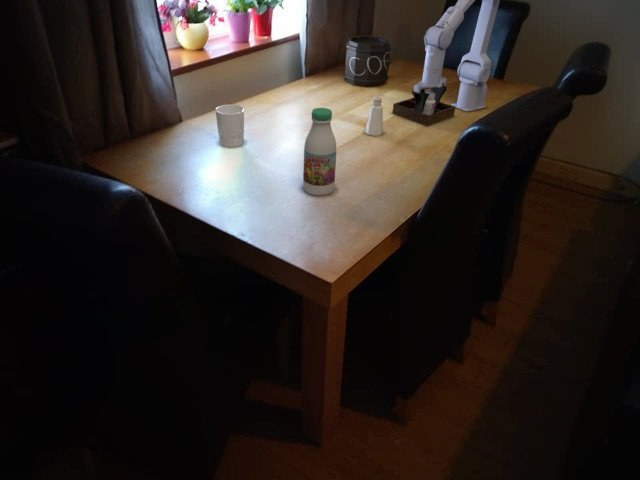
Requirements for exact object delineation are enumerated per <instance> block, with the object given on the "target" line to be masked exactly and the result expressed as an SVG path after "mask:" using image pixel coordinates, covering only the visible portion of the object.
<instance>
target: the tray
mask: <svg viewBox="0 0 640 480" xmlns="http://www.w3.org/2000/svg"><path fill="white" fill-rule="evenodd" d="M455 112H456V107H455V106H452V105H451V104H448V103H445V102H441V101H440V102H439V104H438V106H437V108H436V109H435V108H434V113H433V114H431V115H426V114H423V113H418V112H416V104H415V99H414V97H411V98H408V99H405V100H401V101H398V102H394V103H393V104H392V114H393V115H396V116H399V117H401V118H404V119H407V120H409V121H412V122H414V123H417V124H420V125H423V126H425V127H429V126H432V125H434V124H437V123H439V122H442V121H446V120H449V119H451V118H454V116H455Z"/></svg>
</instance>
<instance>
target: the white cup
mask: <svg viewBox="0 0 640 480" xmlns="http://www.w3.org/2000/svg"><path fill="white" fill-rule="evenodd" d="M215 117H216V125H217V132H218V137H219V143H220V145H221V146H223V147H226V148H235V147H240V146H242V145H243V144H244V142H245V141H244V135H245V108H244V107H243V106H241V105H238V104H222V105H219V106H217V107H216V108H215Z"/></svg>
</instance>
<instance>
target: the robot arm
mask: <svg viewBox="0 0 640 480" xmlns="http://www.w3.org/2000/svg"><path fill="white" fill-rule="evenodd" d="M475 1H476V0H457V2H456V3H455V4H454V6H449V7H448V8H447V10H446V11H445V12H444V13H443V14H442V16H441V17H440V19H439V20H438V21H437V22H436V23H435V25H433V26H430V27H429V28H428V29H427V30H426V32H425V35H423V42H424V46H425V47H424V51H425V58H424V65H423V72H422V79H421V80H420V81H419V82H418V83H417V84H414V85H413V89H412V91H411V94H412V96H413V98H414V99H415V104H416V112H418V113H423V110H424V106H425V103H426V100H427V98H428V96H429V95H430V94H428V93H425V92H426V91H427V90H429V89H430V92H433V93H435V94H436V95H435V109H436V108H437V106H438V104H439V102H441V99H442V97H443V96H444V94H445V93H446V92H447V91H448V87H447V86H446V85H447V80H448V79H447V78H445V77H442V75H443V67H444V62H445V56H446V50H447V48H448V47H450V45H451V43H452V41H453V37H454V35H455V32H456V30H457V29H458V27H459V26H460V25H461V24H462V22H463V21H464V19H465V14H464V13H465V12H466V11H467V10H468V9H469V8H470V6H471V5H473V3H474V2H475ZM500 1H501V0H481V6H480V10H479V15H478V17H477V22H476V25H475V26H476V27H475V31H474V34H473V39H472V42H471V47H470V50H469V52H467V53H466V54H464V55H462V58H461V62H460V63H459V65H458V66H457V76H458V78H459V81H460V84H459V90H458V95H457V101H456V102H452V103H451V104H450V105H451V106H454V107H455V108H457V109H460V110H462V111H464V112H472V111H475V110H476V111H477V110H481V109H485V108H486V106H485V101H486V97H487V93H488V86H487V83H486V82H487V81H488V80H489V78H490V76H491V66H492V59H490V57H489V56H488V55H487V51H488V47H489V43H490V40H491V37H492V32H493V27H494V24H495V20H496V16H497V13H498V9H499V5H500Z"/></svg>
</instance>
